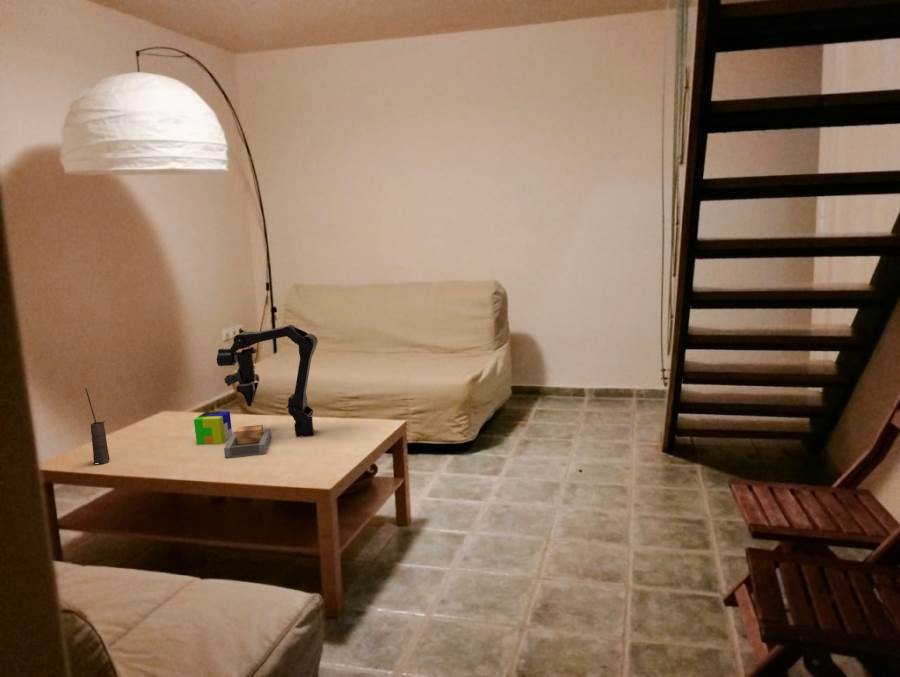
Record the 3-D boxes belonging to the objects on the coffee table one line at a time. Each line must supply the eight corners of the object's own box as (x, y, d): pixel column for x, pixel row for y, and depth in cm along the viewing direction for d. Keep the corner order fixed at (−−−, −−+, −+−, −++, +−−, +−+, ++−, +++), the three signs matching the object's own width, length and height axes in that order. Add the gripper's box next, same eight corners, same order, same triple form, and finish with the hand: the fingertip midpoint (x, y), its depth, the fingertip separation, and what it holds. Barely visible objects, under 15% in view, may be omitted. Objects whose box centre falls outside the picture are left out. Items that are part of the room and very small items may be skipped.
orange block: (264, 437, 266) (262, 424, 265) (262, 442, 260) (260, 429, 259) (239, 439, 265) (238, 427, 264) (237, 444, 259) (235, 431, 258)
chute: (271, 437, 268) (270, 428, 268) (265, 454, 249) (264, 444, 248) (234, 440, 267) (233, 431, 266) (225, 458, 247) (224, 448, 246)
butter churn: (124, 456, 256) (113, 383, 251) (111, 465, 246) (99, 389, 242) (99, 457, 256) (88, 384, 251) (85, 467, 247) (73, 390, 242)
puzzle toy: (232, 435, 274) (229, 411, 272) (221, 443, 264) (218, 418, 262) (208, 436, 275) (205, 412, 273) (196, 444, 265) (193, 419, 263)
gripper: (228, 362, 275) (233, 400, 277) (220, 372, 256) (225, 412, 259) (257, 359, 276) (261, 397, 279) (250, 369, 258) (255, 409, 260)
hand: (250, 404), depth 269 cm, fingers open, 6 cm apart
